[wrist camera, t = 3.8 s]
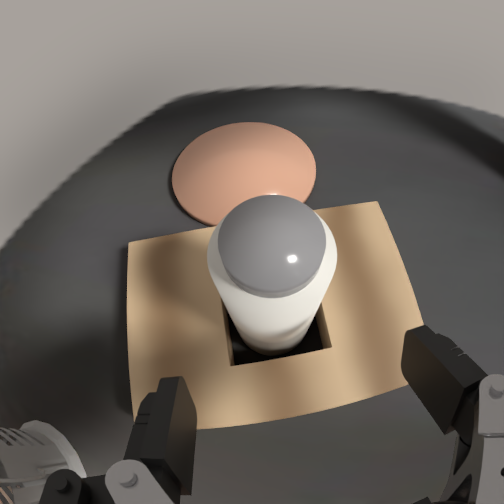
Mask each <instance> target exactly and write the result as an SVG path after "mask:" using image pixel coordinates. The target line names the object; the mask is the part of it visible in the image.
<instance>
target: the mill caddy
mask: <svg viewBox="0 0 504 504" xmlns="http://www.w3.org/2000/svg"><path fill="white" fill-rule="evenodd" d="M313 211H314V212H315V213H316V214H317V215H319V216H320V217H321V218H322V219H323V220H324V222H325V223H326V224H327V226H328V227H329V229H330V231H331V232H332V235H333V237H334V240H335V243H336V248H337V264H336V269H335V272H334V275H333V277H332V280H331V282H330V284H329V286H328V288H327V291H326V293H325V295H324V297H323V299H322V301H321V304H320V306H319V308H318V310H317V312H316V314H315V316H316V320H317V324H318V329H319V333H320V337H321V342H322V346H323V349H322V350H318V351H313V352H309V353H304V354H299V355H294V356H289V357H284V358H279V359H273V360H267V361H262V362H255V363H249V364H243V365H236V366H235V363H234V356H233V349H232V342H231V335H230V328H229V321H228V314H227V308H226V306H225V304H224V302H223V300H222V298H221V296H220V294H219V292H218V290H217V288H216V286H215V284H214V282H213V279H212V277H211V275H210V272H209V269H208V263H207V250H208V244H209V241H210V238H211V235H212V233H213V231H214V230H215V228H216V226H214V227H209V228H203V229H198V230H192V231H187V232H181V233H176V234H171V235H165V236H160V237H155V238H150V239H145V240H140V241H135V242H130V243H129V249H128V271H127V337H128V359H129V374H130V387H131V397H132V407H133V416H134V422H135V419H136V416H137V412H138V409H139V406H140V403H141V401H142V400H143V399H144V398H145V397H146V395H147V394H148V393H149V392H156V391H157V388H158V384H159V381H160V379H161V378H163V377H175V376H182V377H183V378H184V380H185V382H186V385H187V387H188V390H189V392H190V395H191V397H192V400H193V402H194V404H195V407H196V412H197V429H208V428H219V427H229V426H238V425H246V424H253V423H260V422H267V421H273V420H278V419H284V418H289V417H294V416H299V415H304V414H309V413H313V412H318V411H322V410H326V409H330V408H334V407H338V406H342V405H345V404H349V403H353V402H356V401H360V400H363V399H366V398H369V397H373V396H376V395H379V394H382V393H385V392H388V391H391V390H394V389H397V388H399V387H402V386H405V385H408V382H407V381H406V380H405V378H404V376H403V374H402V371H401V358H402V351H403V343H404V335H405V332H406V331H407V330H410V329H413V328H416V327H419V326H422V325H424V324H423V321H422V318H421V314H420V311H419V308H418V305H417V302H416V298H415V295H414V292H413V290H412V287H411V284H410V281H409V278H408V275H407V272H406V270H405V267H404V264H403V262H402V259H401V256H400V254H399V251H398V249H397V246H396V244H395V241H394V239H393V236H392V234H391V232H390V229H389V227H388V225H387V222H386V220H385V218H384V215H383V213H382V211H381V209H380V206H379V204H378V202H377V201H375V202H368V203H360V204H353V205H346V206H339V207H332V208H325V209H318V210H313Z"/></svg>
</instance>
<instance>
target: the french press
mask: <svg viewBox="0 0 504 504" xmlns="http://www.w3.org/2000/svg"><path fill="white" fill-rule="evenodd" d="M3 430H4V431H6V434H4V433H3V432H2V431H3ZM12 431H16V433H15V434H14V433H13V432H12ZM10 435H12V436H13V439H11V438H10ZM0 436H2V437H4V439H3V441H2V440H1V439H0V487H1V488H2V489H3V490H4V491H5V493H6V494H7V495H8V496H9V497H10V499H11V500H12V502H13V503H14V504H39V501H40V498H41V495H42V492H43V489H44V486H45V483H46V480H47V479H48V477H49V476H50V475H51V474H52V473H53V472H55V471H57V470H60V469H70V470H72V471H74V472H76V473H77V474H78V475H79V476H80V477H81V478H87V477H86V472H85V470H84V468H83V466H82V463H81V461H80V459H79V456H78V454H77V452H76V451H75V450H74V448H73V447H72V446H71V444H70V443H69V442H68V440H67V439H66V438H65V436H64V435H63V434H61V433H60V432H59V431H58V430H56V429H55V428H54V427H53V426H51V425H50V424H48V423H44V422H41V421H37V420H34V421H30V422H27V423H24V424H23V425H22V427H21V428H20V429H18V430H16V429H11V428H9V429H5V428H0ZM8 441H9V442H10V443H11V445H10V446H8V445H7V442H8ZM15 485H19V486H20V487H21V488H17V487H16V486H15ZM6 486H11V488H12V491H13V494H12V493H11V492H10V491H9V489H8V488H7V487H6ZM0 499H1V501H2V502H3V504H9V503H8V501H7V500H6V498H5V497H4V496H3V495H2V493H1V492H0Z"/></svg>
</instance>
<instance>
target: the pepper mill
mask: <svg viewBox="0 0 504 504" xmlns="http://www.w3.org/2000/svg"><path fill="white" fill-rule="evenodd" d="M207 263H208V269H209V272H210V275H211V277H212V279H213V282H214V284H215V286H216V288H217V290H218V292H219V294H220V296H221V298H222V300H223V302H224V304H225V306H226V308H227V310H228V313H229V315H230V317H231V319H232V321H233V323H234V325H235V327H236V329H237V331H238V333H239V335H240V337H241V338H242V340H243V342H244V343H245V344H246V345H247V346H248V347H249V348H250V349H252V350H253V351H255V352H257V353H259V354H262V355H267V356H278V355H283V354H285V353H288V352H290V351H292V350H293V349H294V348H296V347H297V346H298V345H299V344H300V343H301V341H302V340H303V338H304V336H305V334H306V332H307V330H308V328H309V326H310V324H311V322H312V320H313V318H314V316H315V314H316V312H317V310H318V308H319V306H320V304H321V301H322V299H323V297H324V295H325V293H326V291H327V288H328V286H329V284H330V282H331V280H332V277H333V275H334V272H335V269H336V264H337V248H336V243H335V240H334V237H333V235H332V232H331V231H330V229H329V227H328V226H327V224H326V223H325V222H324V220H323V219H322V218H321V217H320V216H319V215H317V214H316V213H315V212H314V211H313V210H312V209H311V208H309V207H308V206H307V205H305V204H304V203H302V202H300V201H298V200H296V199H294V198H291V197H287V196H283V195H262V196H257V197H254V198H250V199H248V200H246V201H244V202H242V203H240V204H239V205H237V206H236V207H235V208H234V209H233V210H231V211H230V212H229V213H228V214H227V215H226V216H225V217H224V218H223V219H222V220H221V221H220V222H219V224H218V225H217V226H216V228H215V230H214V231H213V233H212V235H211V238H210V241H209V244H208V250H207Z"/></svg>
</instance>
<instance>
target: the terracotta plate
mask: <svg viewBox="0 0 504 504" xmlns="http://www.w3.org/2000/svg"><path fill="white" fill-rule="evenodd" d="M315 177H316V165H315V160H314V157H313V155H312V153H311V151H310V149H309V148H308V147H307V145H306V144H305V143H304V142H303V141H302V140H301V139H300V138H299V137H297V136H296V135H294V134H293V133H291V132H289V131H287V130H285V129H283V128H281V127H278V126H275V125H270V124H266V123H258V122H241V123H233V124H228V125H224V126H221V127H218V128H215V129H213V130H210V131H208V132H206V133H204V134H203V135H201V136H199V137H198V138H196V139H195V140H194V141H192V142H191V143H190V144H189V145H188V146H187V147H186V148H185V149H184V150H183V151H182V153H181V154H180V156H179V157H178V159H177V161H176V163H175V165H174V169H173V174H172V185H173V189H174V193H175V195H176V197H177V199H178V202H179V204H180V205H181V206H182V208H183V209H184V210H185V211H186V212H187V213H188V214H189V215H190V216H191V217H193V218H194V219H195V220H197V221H199V222H201V223H203V224H205V225H207V226H210V227H214V226H217V225H218V224H219V222H220V221H221V220H222V219H223V218H224V217H225V216H226V215H227V214H228V213H229V212H230V211H231V210H233V209H234V208H235V207H236V206H237V205H239V204H240V203H242V202H244V201H246V200H248V199H250V198H254V197H257V196H262V195H283V196H287V197H291V198H294V199H296V200H298V201H300V202H302V203H305V202H306V201H307V199H308V198H309V196H310V194H311V192H312V190H313V187H314V183H315Z"/></svg>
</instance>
